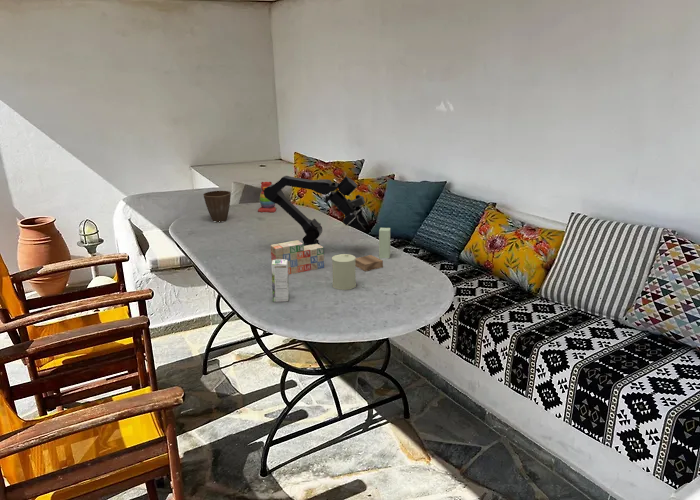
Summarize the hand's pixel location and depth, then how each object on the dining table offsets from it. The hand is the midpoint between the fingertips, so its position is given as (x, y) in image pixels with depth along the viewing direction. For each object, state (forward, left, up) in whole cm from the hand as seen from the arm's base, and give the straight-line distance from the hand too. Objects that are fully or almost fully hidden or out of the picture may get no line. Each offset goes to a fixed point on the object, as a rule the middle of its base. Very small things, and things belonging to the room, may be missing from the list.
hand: (366, 227), depth 235 cm
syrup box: (-53, -23, -14) cm, 59 cm away
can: (-27, -25, -14) cm, 39 cm away
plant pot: (-35, +98, -14) cm, 105 cm away
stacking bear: (-2, +105, -14) cm, 106 cm away
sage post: (+6, -6, -13) cm, 16 cm away
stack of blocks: (-34, +1, -14) cm, 36 cm away
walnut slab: (-7, -12, -13) cm, 19 cm away
